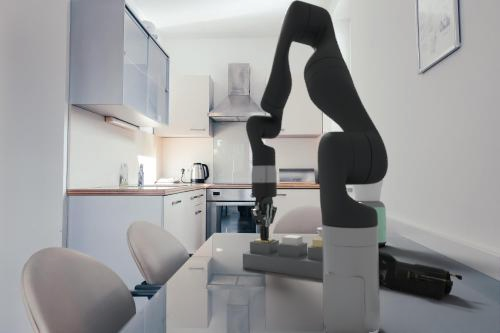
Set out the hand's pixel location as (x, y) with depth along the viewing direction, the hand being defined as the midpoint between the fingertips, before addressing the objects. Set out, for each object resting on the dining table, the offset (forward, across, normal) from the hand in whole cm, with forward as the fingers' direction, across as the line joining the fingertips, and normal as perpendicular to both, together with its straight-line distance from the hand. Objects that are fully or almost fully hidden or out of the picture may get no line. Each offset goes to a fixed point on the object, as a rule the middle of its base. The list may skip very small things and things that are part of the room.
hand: (264, 239), depth 101 cm
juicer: (+8, +46, -21) cm, 51 cm away
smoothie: (+8, +16, -14) cm, 23 cm away
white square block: (+2, 0, -9) cm, 9 cm away
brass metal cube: (+2, 0, -18) cm, 18 cm away
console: (+8, 0, -9) cm, 12 cm away
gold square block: (+3, 0, 0) cm, 3 cm away
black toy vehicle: (+8, -4, -37) cm, 38 cm away
